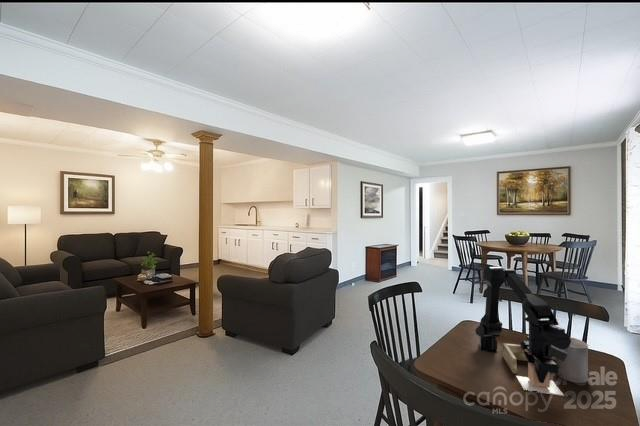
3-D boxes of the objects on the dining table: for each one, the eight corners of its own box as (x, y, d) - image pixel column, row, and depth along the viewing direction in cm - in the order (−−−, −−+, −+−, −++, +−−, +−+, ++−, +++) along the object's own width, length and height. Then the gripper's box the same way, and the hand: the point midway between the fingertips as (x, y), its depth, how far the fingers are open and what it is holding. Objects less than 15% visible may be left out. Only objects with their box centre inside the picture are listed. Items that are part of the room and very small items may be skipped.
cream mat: (524, 390, 107) (524, 389, 107) (515, 376, 116) (515, 375, 116) (564, 396, 104) (564, 395, 104) (552, 381, 112) (552, 380, 112)
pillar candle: (552, 367, 122) (552, 331, 122) (583, 372, 118) (583, 335, 117) (558, 379, 113) (558, 341, 113) (592, 386, 109) (592, 346, 109)
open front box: (513, 373, 118) (513, 358, 118) (503, 356, 131) (503, 343, 131) (550, 378, 114) (549, 362, 114) (535, 360, 128) (535, 346, 127)
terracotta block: (533, 385, 108) (533, 369, 108) (528, 377, 113) (528, 362, 113) (549, 387, 107) (549, 371, 107) (543, 380, 112) (543, 364, 111)
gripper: (578, 351, 98) (578, 397, 99) (552, 329, 116) (552, 368, 116) (538, 347, 102) (539, 392, 102) (519, 326, 119) (520, 364, 120)
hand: (538, 378), depth 110 cm, fingers closed on terracotta block, 5 cm apart
